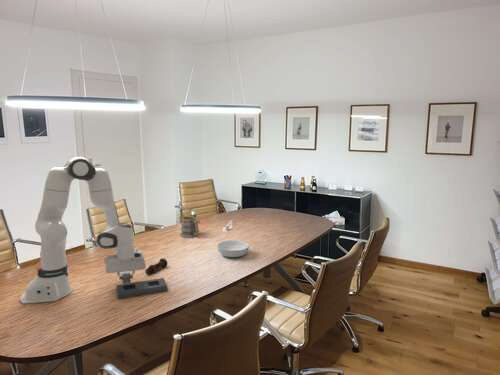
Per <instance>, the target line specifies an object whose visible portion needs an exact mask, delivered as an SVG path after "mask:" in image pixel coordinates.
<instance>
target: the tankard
mask: <svg viewBox="0 0 500 375" xmlns="http://www.w3.org/2000/svg"><path fill="white" fill-rule="evenodd" d="M200 223H201V220H200V219H198V218H197V217H195V216H184V217H183V216H182V218H181V221H180V226H181V228H180V231H181V233H180V234H179V236H180V237H181V238H183V239H186V238H187V239H192V238H195V237H196V238H197V237H198V235H199V231H200V230H199V229H200V228H199V224H200Z"/></svg>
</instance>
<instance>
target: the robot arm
mask: <svg viewBox="0 0 500 375" xmlns="http://www.w3.org/2000/svg"><path fill="white" fill-rule="evenodd" d="M47 173H48V174H47V176H46V179H45V183H44V189H43V194H42V201H41V205H40V209H39V211H38V214H37V219H36V220H35V223H34V224H35V225H34V229H35V232H36V233H37V235H39V236H40V242H41V244H40V253H39V254H40V255H39V256H40V266H37V268H36V275H37V276H35V277H34V278H33V279H31V281H29V282H28V283H27V285H26V287H25V291H24V292H23V293H22V294H21V296H20V303H21V304H24V305H25V304H37V303H47V302H56V301H58V300H60V299H61V298H64V297H66V296H68V295H70V294H71V293H72V292H73V288H72V287H71V283H70V279H69V266H68V264H67V257H66V246H67V236H68V229H67V226H66V224H65V223H64V222H63V221H62V220H63V217H64V214H65V211H66V209H67V207H68V203H69V195H70V192H71V184H72V182H73V181H74V180H79V181H86V183H87V186H88V192H89V198H90V202H91V203H92V204H93V205H94V206H95V207H97V208H100V209H101V210H102V211H103V213H104V216H105V221H106V228H105V229H104V230H102V231H101V232H99V234H98V235H97V236H96V244H97V246H98V247H99V248H100V249H103V250H109V249H114V248H115V249H116V250H115V253H116V254H112V255H111V254H110V255H107V256H105V257H104V264H105V273H106V274H115V273H116V276H118V277H119V281H122V275H121V273H122V272H125V271H130V272H132V273H130V280H131V279H134V274H135V273H136V271H140V270H146V269H147V268H146V267H147V265H146V260H145V257H144V254H143V253H144V252H143V251H142V250H141V249H138V248H135V247H134V239H135V238H134V230H133V226H132V225H131V224H129V223H126V222H120V219H119V215H118V210H117V206H116V203H115V199H114V192H113V187H112V186H113V185H112V183H111V177H110V175H109V172H108V171H107V170H106V169H104V168H98V167H97V168H95V166H94V165H93V163H91V162H90V161H89V159H88V158H86V157H84V156H74V157H72V158H70V159H69V160H68V161H67V162H66V164H65V165H63V167H61V166H57V167H56V166H55V167H52V168H51V169H49V171H48V172H47Z"/></svg>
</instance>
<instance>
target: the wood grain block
mask: <svg viewBox="0 0 500 375" xmlns="http://www.w3.org/2000/svg"><path fill="white" fill-rule="evenodd" d="M130 274H131V271H125V272H121V276H122V280H121V283H122V284H127V283H132V282H131V279H130Z"/></svg>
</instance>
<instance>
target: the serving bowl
mask: <svg viewBox="0 0 500 375" xmlns="http://www.w3.org/2000/svg"><path fill="white" fill-rule="evenodd" d="M216 247H217V248H216V249H217V250H218V253H220V255H222V256H224V257H226V258H227V257H228V258H238V257H241V256H244V255H245V254H247V253H248V252H249V248H250V244H249V243H247V242H245V241H243V240H237V239H236V240H235V239H234V240H232V239H231V240H225V241H220V242H219V243H217V245H216Z"/></svg>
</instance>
